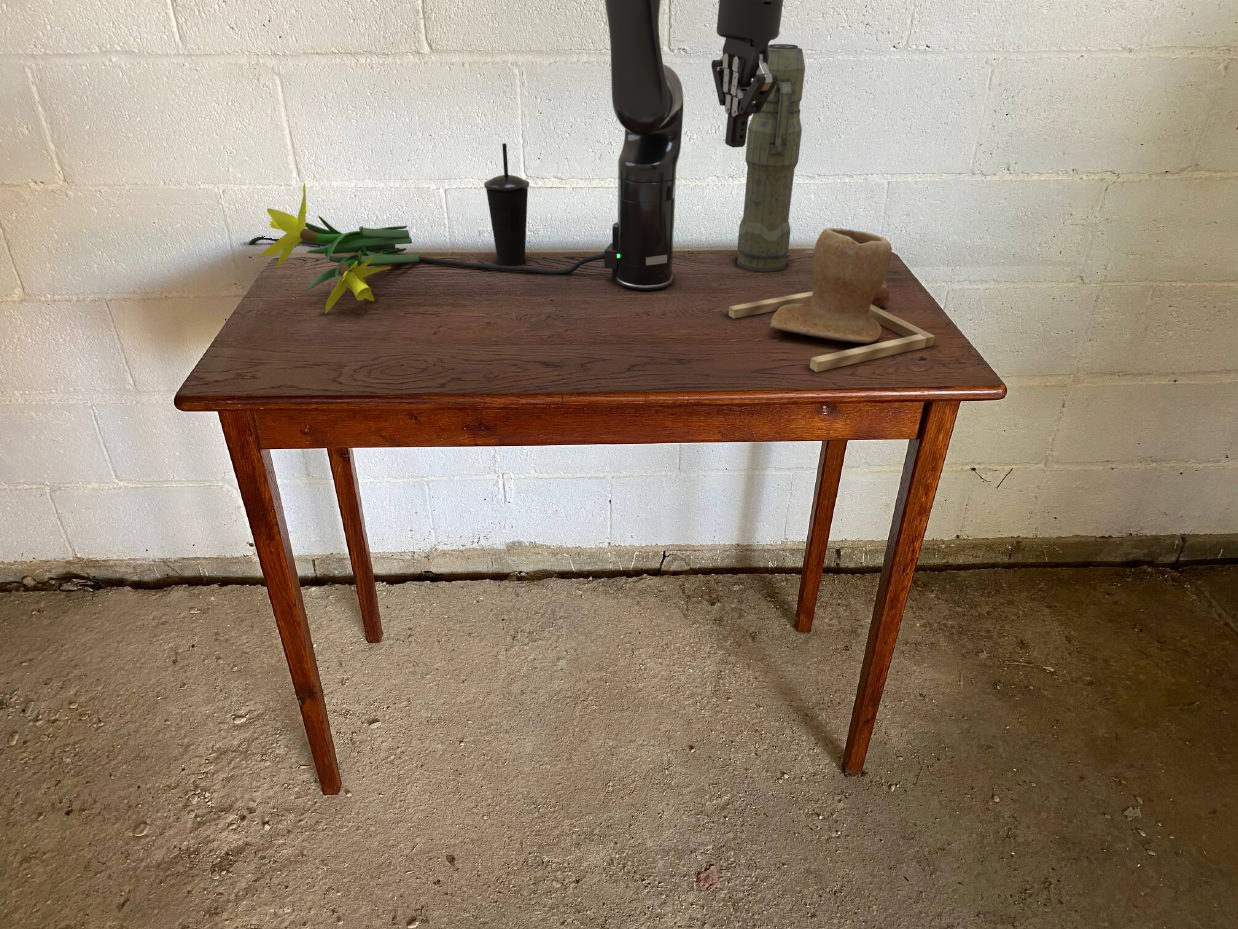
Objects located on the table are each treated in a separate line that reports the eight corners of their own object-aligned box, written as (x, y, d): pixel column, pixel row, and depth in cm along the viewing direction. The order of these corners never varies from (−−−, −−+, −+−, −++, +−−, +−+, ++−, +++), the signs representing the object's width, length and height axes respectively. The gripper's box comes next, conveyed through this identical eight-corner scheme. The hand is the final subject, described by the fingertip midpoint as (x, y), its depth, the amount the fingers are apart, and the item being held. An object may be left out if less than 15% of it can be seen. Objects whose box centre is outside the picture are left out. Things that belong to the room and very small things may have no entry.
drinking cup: (539, 257, 151) (534, 141, 141) (522, 270, 145) (515, 149, 135) (501, 252, 153) (493, 137, 143) (482, 265, 147) (472, 146, 137)
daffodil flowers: (461, 270, 148) (362, 283, 115) (397, 308, 152) (283, 332, 119) (414, 182, 145) (298, 170, 112) (350, 224, 150) (220, 224, 117)
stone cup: (885, 325, 126) (904, 225, 118) (874, 356, 116) (894, 250, 108) (785, 310, 130) (797, 213, 123) (767, 338, 121) (779, 235, 113)
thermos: (775, 251, 155) (798, 41, 136) (795, 273, 145) (823, 49, 126) (728, 253, 154) (745, 41, 135) (746, 275, 144) (766, 49, 125)
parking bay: (816, 372, 112) (817, 362, 111) (728, 315, 129) (729, 306, 128) (932, 345, 119) (934, 336, 119) (835, 295, 136) (836, 286, 135)
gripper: (698, -13, 102) (686, 136, 112) (752, -3, 92) (734, 159, 102) (751, -12, 105) (735, 133, 114) (810, -2, 95) (787, 156, 104)
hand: (734, 145), depth 108 cm, fingers closed
